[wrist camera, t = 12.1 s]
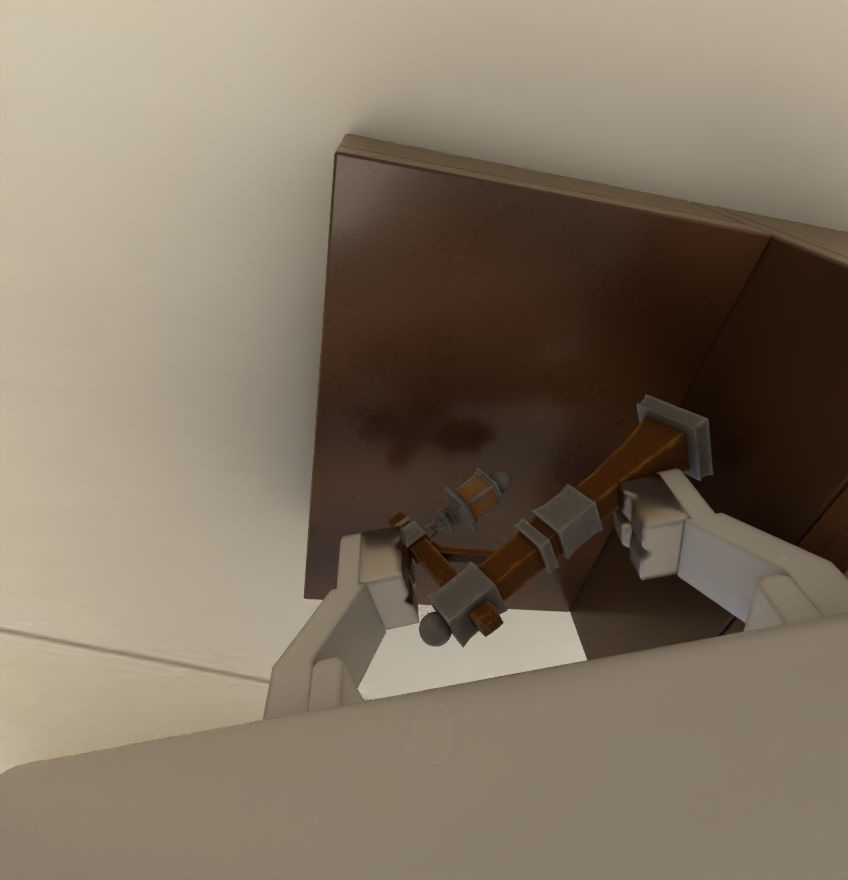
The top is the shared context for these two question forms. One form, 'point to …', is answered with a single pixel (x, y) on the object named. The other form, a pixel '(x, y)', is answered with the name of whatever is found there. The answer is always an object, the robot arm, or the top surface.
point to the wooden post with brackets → (541, 522)
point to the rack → (570, 369)
